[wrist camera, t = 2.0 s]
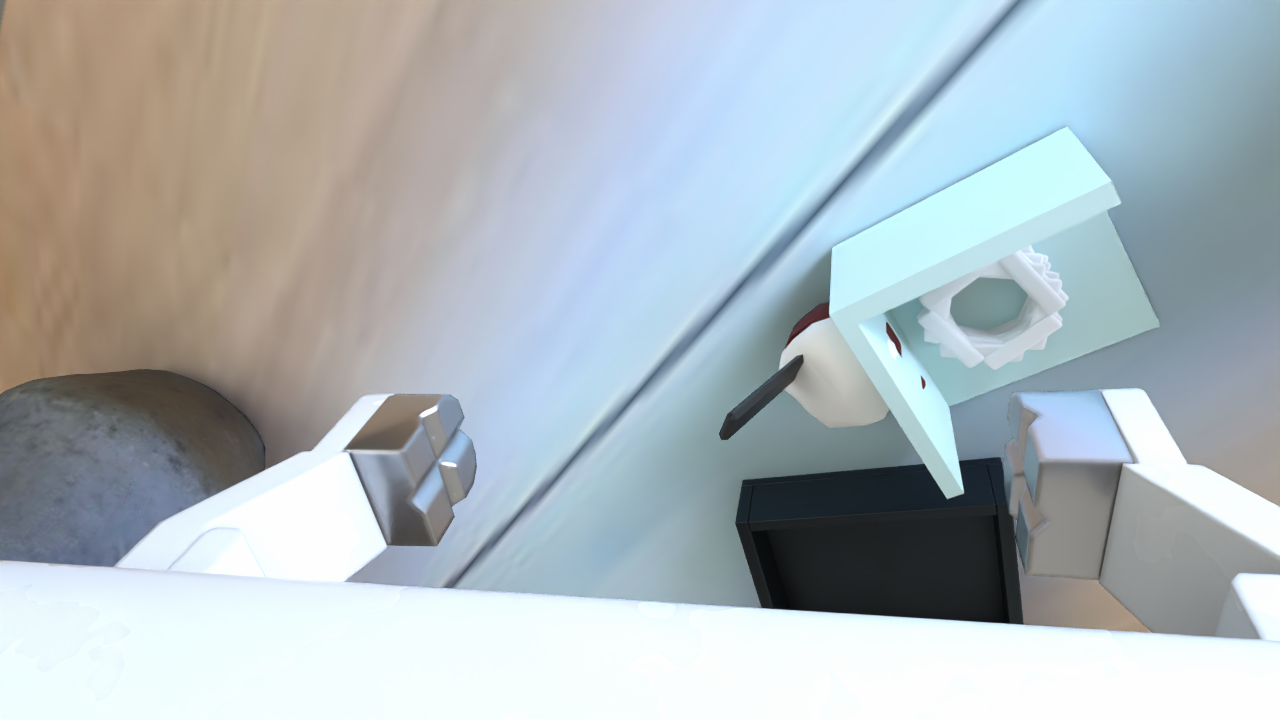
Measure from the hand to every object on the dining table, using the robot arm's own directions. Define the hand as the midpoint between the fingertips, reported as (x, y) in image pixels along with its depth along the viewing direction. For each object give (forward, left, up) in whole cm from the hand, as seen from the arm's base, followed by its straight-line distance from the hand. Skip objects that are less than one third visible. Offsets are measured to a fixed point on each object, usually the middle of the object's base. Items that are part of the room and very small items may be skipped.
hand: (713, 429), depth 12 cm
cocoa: (+1, +16, -31) cm, 35 cm away
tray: (+1, +35, -31) cm, 46 cm away
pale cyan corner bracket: (-6, +15, -31) cm, 35 cm away
